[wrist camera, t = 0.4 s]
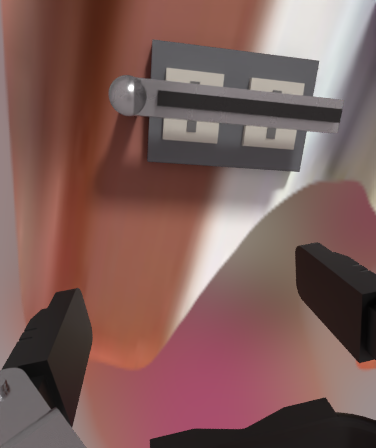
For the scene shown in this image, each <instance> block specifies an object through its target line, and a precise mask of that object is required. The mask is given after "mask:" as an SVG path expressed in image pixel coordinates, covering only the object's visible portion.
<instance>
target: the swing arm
mask: <svg viewBox="0 0 376 448" xmlns="http://www.w3.org/2000/svg"><path fill="white" fill-rule="evenodd" d="M109 99H110V102H111V105H112V106H113V108H114V109H115V110H116V111H118V112H119V113H120V114H122V115H124V116H142V117H154V118H165V119H176V120H187V121H198V122H209V123H220V124H232V125H243V126H254V127H265V128H276V129H287V130H299V131H310V132H321V133H337V132H338V127H339V123H340V118H341V113H342V108H343V103H344V100H339V99H330V98H321V97H311V96H302V95H293V94H284V93H275V92H265V91H256V90H247V89H238V88H229V87H219V86H210V85H201V84H192V83H182V82H173V81H164V80H155V79H146V78H136V77H133V76H129V75H123V76H120V77H118V78H116V79H115V80H114V81H113V82H112V84H111V86H110V88H109Z"/></svg>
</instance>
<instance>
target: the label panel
mask: <svg viewBox="0 0 376 448" xmlns="http://www.w3.org/2000/svg"><path fill="white" fill-rule="evenodd" d="M318 65H319V61H316V60H308V59H301V58H293V57H285V56H277V55H269V54H262V53H254V52H246V51H238V50H231V49H223V48H215V47H207V46H199V45H192V44H184V43H176V42H168V41H160V40H153V41H152V60H151V79H155V80H164V81H173V82H182V83H192V84H201V85H210V86H219V87H229V88H238V89H247V90H256V91H265V92H275V93H284V94H293V95H302V96H311V97H313V93H314V87H315V82H316V76H317V70H318ZM306 132H307V131H299V130H287V129H276V128H265V127H254V126H243V125H232V124H220V123H209V122H198V121H187V120H176V119H165V118H154V117H149V132H148V156H147V161H148V162H162V163H176V164H191V165H206V166H221V167H236V168H250V169H265V170H280V171H295V172H299V171H300V165H301V160H302V154H303V149H304V143H305V137H306Z"/></svg>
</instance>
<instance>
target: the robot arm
mask: <svg viewBox="0 0 376 448" xmlns="http://www.w3.org/2000/svg"><path fill="white" fill-rule="evenodd" d="M295 256H296V257H295V259H296V285H297V289H298V293H299V295H300V297H301V299H302V300H303V301H304V302H305V303H306V305H307V306H308V307H309V308H310V309H311V310H312V311H313V312H314V313H315V315H316V316H317V317H318V318H319V319H320V320H321V321H322V322H323V323H324V325H325V326H326V327H327V328H328V329H329V330H330V331H331V332H332V333H333V335H334V336H335V337H336V338H337V339H338V340H339V341H340V342H341V343H342V345H344V347H345V348H346V349H347V350H348V351H349V352H350V353H351V354H352V356H353V357H354V358H355V359H356V360H357V361H358V362H359V363H361V362H366V361H370V360H374V359H375V360H376V274H375V273H373V272H371V271H368V269H367V268H365V267H364V266H362V265H359V263H357V262H356V261H354V260H353V259H351V258H350V257H348V256H345V255H342V254H339V253H336V252H332V251H330V250H329V249H327V248H326V247H324V246H323V245H321V244H320V243H311V244H306V245H301V246H297V248H296V251H295ZM91 345H92V327H91V323H90V320H89V316H88V313H87V310H86V306H85V303H84V299H83V296H82V293H81V291H80V289H79V288H76V289H71V290H66V291H61V292H56V293H55V295H54V297H53V299H52V301H51V302H50V304H49V306H48V308H46V309H42V310H41V311H39V312H38V313H37V314H36V315H35V316H34V317H33V318H32V319H31V320H30V321H29V323H28V325H27V326H26V328H25V330H24V333H22V335H21V337H20V339H19V342H17V344H16V346H15V347H14V349H13V351H12V353H11V354H10V356H9V358H8V359H7V361H6V363H5V365H4V366H3V368H2V370H1V371H0V448H86V447H85V445H84V444H83V442H82V441H81V440H80V438H79V437H78V436H77V434H76V433H75V432H74V430H73V429H72V426H73V422H74V417H75V413H76V409H77V405H78V401H79V396H80V392H81V388H82V384H83V379H84V375H85V371H86V366H87V362H88V358H89V354H90V350H91ZM150 448H376V420H373V419H370V418H366V417H363V416H359V415H354V414H348V413H339V412H335V411H334V409H333V408H332V407H331V405H330V403H329V402H328V401H327V399H326V398H321V399H317V400H313V401H309V402H305V403H300V404H296V405H292V406H288V407H284V408H282V409H280V410H278V411H276V412H275V413H273V414H271V415H269V416H268V417H265V418H264V419H262V420H260V421H258V422H256V423H254V424H253V425H251V426H249V427H247V428H245V429H191V430H187V431H183V432H179V433H175V434H170V435H166V436H162V437H158V438H153V439H150Z"/></svg>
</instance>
